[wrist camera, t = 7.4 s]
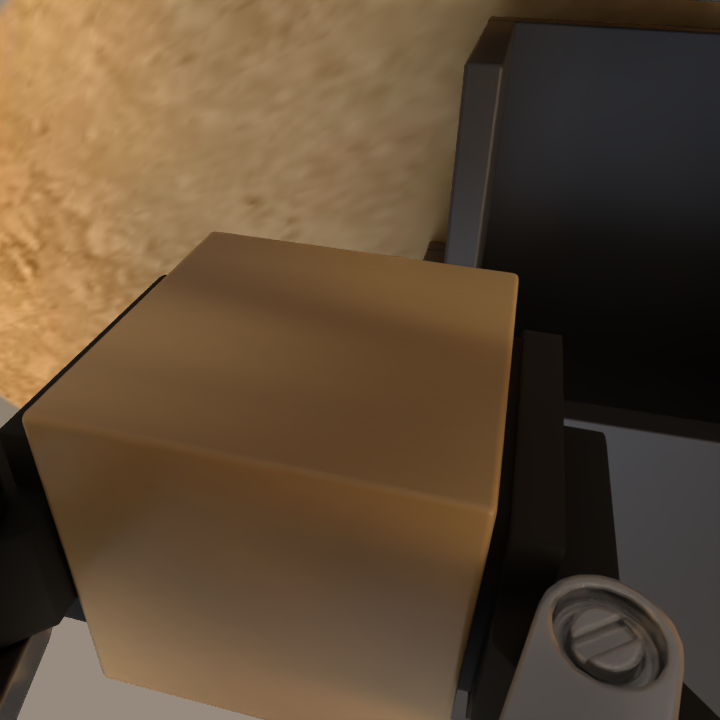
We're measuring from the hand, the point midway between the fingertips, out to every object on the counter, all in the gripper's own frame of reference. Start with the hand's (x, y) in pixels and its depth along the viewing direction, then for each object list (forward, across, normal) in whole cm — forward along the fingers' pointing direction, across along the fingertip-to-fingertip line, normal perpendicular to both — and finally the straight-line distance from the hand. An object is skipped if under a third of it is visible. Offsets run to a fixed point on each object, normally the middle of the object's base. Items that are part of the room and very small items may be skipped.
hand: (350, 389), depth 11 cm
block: (0, 0, 0) cm, 0 cm away
